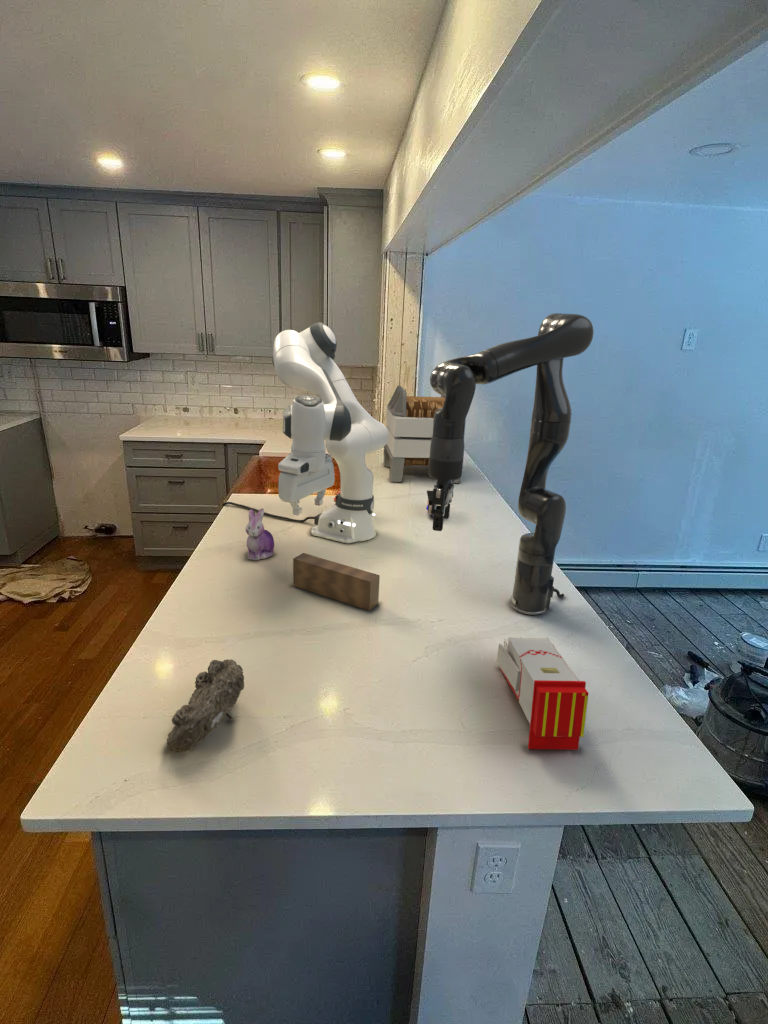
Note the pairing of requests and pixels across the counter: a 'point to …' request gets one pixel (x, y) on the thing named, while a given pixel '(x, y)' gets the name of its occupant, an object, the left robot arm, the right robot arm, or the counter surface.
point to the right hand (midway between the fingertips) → (440, 524)
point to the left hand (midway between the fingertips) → (308, 509)
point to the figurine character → (430, 502)
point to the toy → (545, 692)
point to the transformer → (409, 431)
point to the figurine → (258, 537)
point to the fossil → (206, 705)
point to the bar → (336, 581)
